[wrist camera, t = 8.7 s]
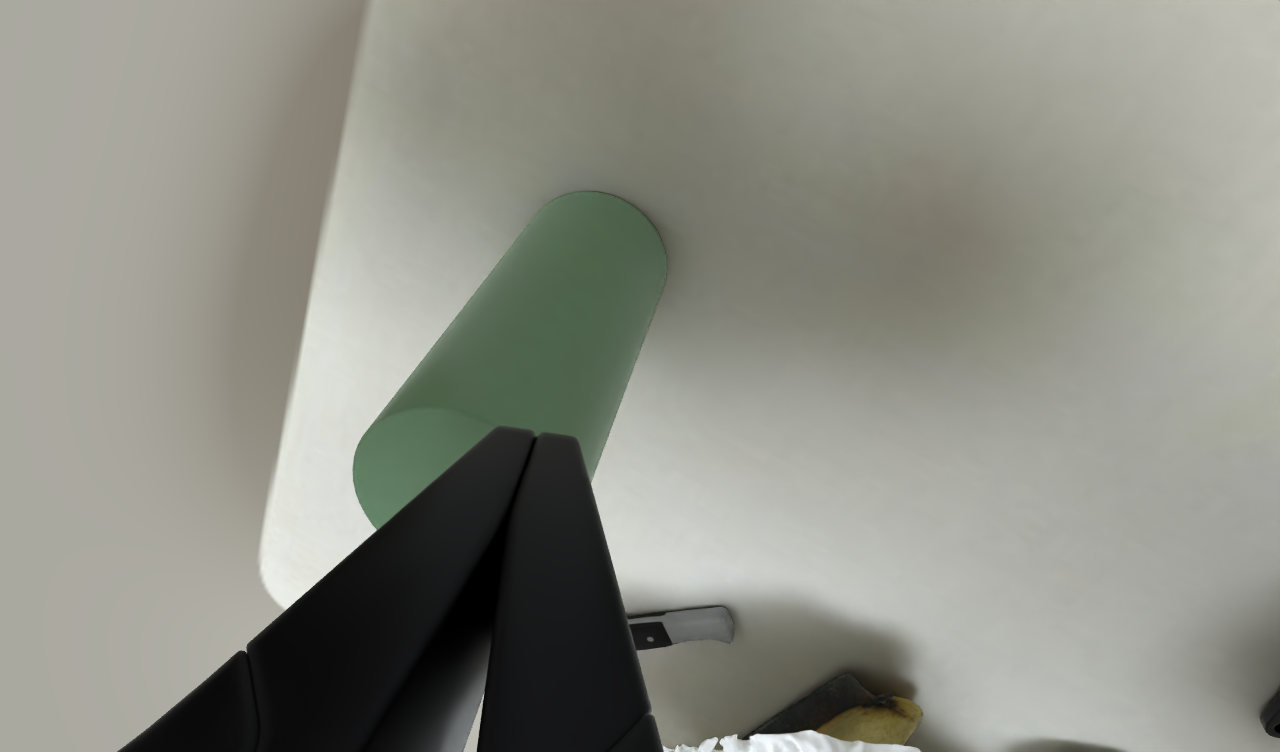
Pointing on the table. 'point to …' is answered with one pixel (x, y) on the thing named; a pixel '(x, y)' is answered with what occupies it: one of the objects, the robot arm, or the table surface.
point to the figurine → (791, 744)
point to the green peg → (525, 350)
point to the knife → (681, 627)
